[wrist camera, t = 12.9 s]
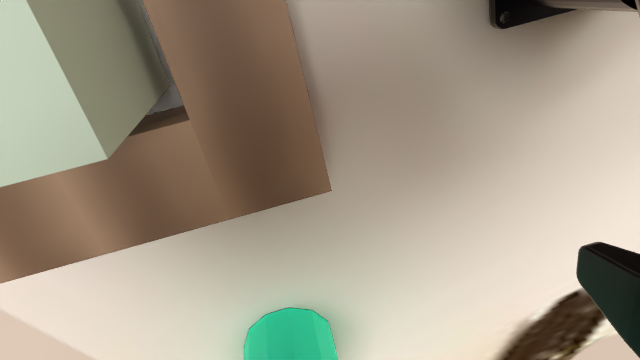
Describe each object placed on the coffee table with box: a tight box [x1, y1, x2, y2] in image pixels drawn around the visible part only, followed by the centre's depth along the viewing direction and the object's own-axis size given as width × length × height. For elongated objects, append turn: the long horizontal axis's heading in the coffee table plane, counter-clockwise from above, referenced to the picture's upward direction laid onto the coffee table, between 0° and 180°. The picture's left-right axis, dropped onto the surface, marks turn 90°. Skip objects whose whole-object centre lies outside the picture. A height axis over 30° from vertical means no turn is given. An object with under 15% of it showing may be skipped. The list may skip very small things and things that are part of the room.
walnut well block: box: [0, 0, 332, 283], centre depth 16 cm, size 16×16×3 cm
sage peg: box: [0, 0, 170, 187], centre depth 13 cm, size 4×4×9 cm
